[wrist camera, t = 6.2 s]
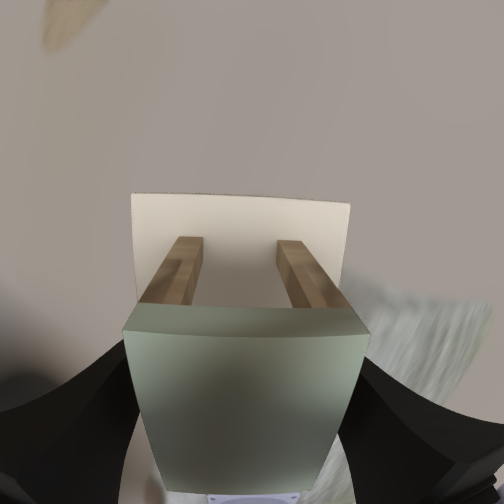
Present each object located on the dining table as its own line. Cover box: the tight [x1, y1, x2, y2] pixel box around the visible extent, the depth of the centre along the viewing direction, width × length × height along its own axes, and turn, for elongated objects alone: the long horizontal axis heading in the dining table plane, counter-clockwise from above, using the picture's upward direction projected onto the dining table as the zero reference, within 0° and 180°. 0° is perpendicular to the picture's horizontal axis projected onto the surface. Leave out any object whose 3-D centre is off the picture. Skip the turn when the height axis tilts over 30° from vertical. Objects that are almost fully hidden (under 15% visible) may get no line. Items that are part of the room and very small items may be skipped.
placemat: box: [131, 193, 350, 308], centre depth 14 cm, size 11×9×1 cm
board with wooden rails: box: [122, 236, 371, 495], centre depth 10 cm, size 5×7×7 cm
